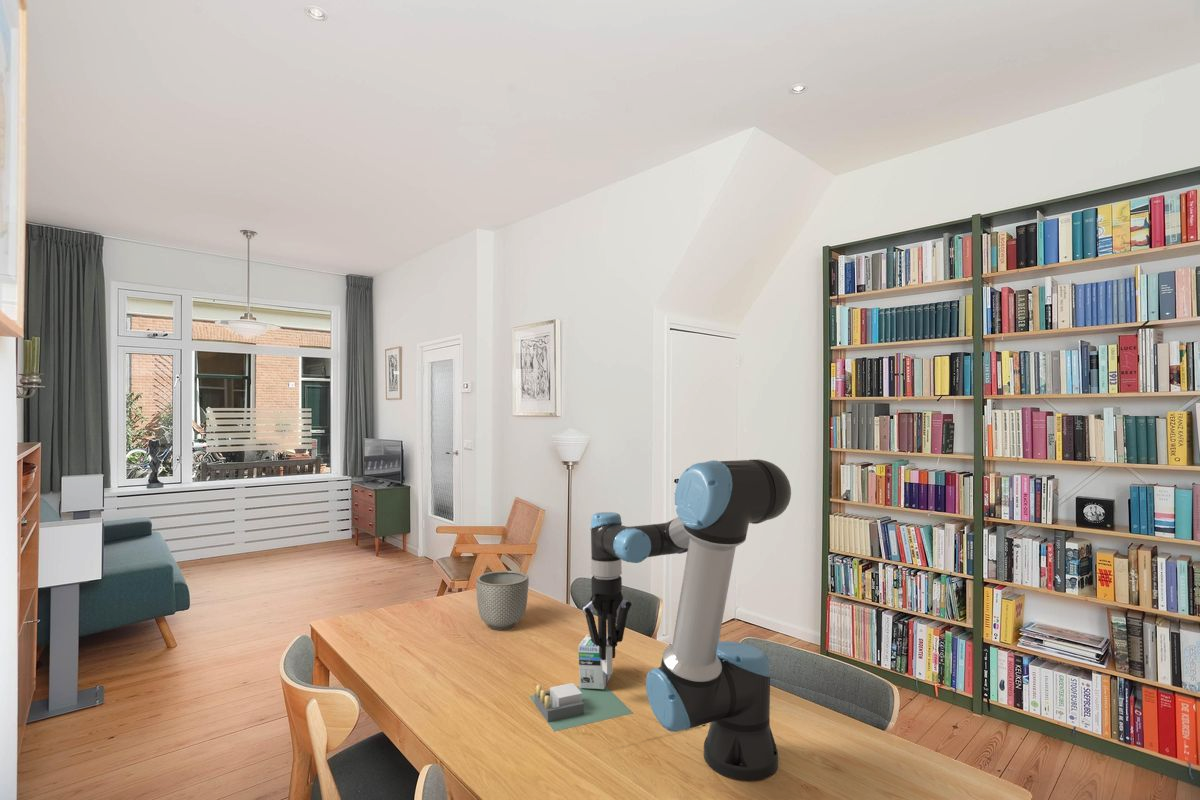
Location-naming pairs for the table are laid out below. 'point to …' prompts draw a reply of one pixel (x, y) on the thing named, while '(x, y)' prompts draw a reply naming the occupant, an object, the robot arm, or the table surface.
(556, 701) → the plug
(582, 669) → the light bulb box
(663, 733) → the table surface
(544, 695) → the header board
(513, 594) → the planter
